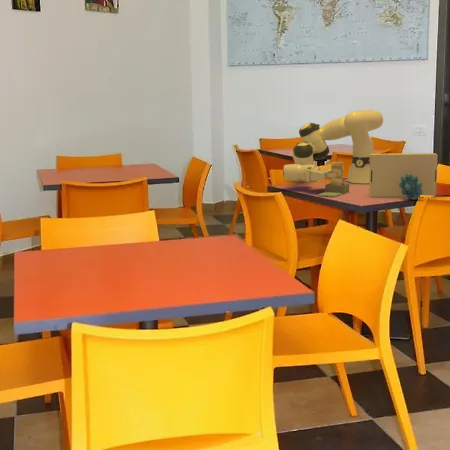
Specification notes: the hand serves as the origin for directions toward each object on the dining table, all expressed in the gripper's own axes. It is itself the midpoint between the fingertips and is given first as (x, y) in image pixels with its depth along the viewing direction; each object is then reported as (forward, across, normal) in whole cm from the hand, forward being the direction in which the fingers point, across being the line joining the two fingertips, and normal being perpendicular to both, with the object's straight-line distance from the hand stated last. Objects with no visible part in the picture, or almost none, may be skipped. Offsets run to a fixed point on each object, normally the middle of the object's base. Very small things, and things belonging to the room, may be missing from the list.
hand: (339, 174), depth 333 cm
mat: (-1, +10, -9) cm, 14 cm away
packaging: (+31, -1, -9) cm, 32 cm away
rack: (-1, 0, -9) cm, 9 cm away
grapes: (+37, +9, -9) cm, 39 cm away
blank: (-1, 0, -9) cm, 9 cm away
